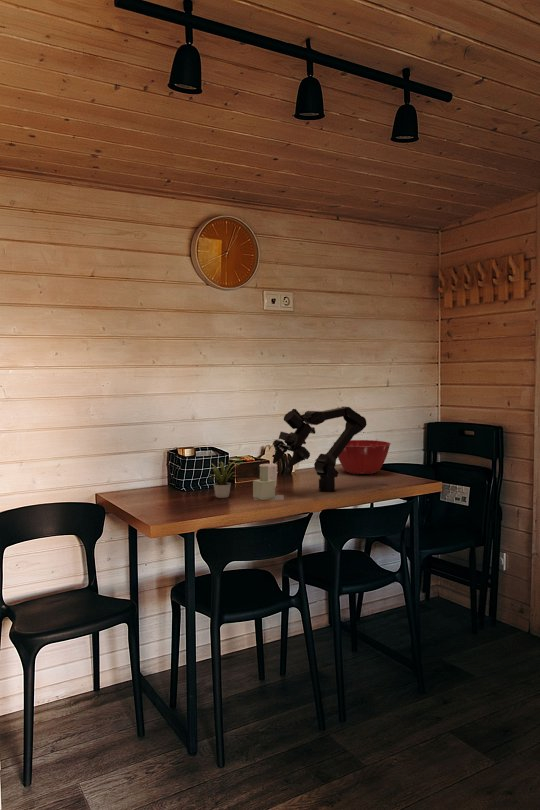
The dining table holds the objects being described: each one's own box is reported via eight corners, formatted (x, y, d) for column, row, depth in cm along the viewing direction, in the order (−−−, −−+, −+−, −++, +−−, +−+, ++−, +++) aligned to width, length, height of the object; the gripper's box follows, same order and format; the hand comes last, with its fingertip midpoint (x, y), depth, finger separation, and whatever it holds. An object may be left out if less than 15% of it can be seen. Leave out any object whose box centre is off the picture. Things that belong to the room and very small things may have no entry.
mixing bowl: (328, 468, 334) (328, 439, 333) (381, 467, 337) (381, 438, 336) (340, 478, 306) (340, 446, 305) (397, 477, 309) (397, 445, 308)
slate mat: (283, 497, 264) (283, 495, 264) (283, 502, 255) (283, 499, 255) (254, 497, 264) (254, 495, 264) (253, 502, 255) (253, 499, 255)
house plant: (246, 495, 268) (246, 457, 267) (238, 502, 254) (237, 462, 253) (213, 494, 271) (213, 456, 270) (204, 501, 257) (203, 461, 256)
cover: (266, 495, 264) (265, 464, 263) (274, 497, 258) (274, 466, 257) (253, 497, 260) (252, 465, 259) (262, 499, 255) (261, 467, 254)
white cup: (275, 489, 281) (275, 466, 281) (258, 488, 283) (257, 466, 282) (278, 485, 289) (278, 463, 288) (261, 485, 291) (261, 463, 290)
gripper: (275, 421, 272) (255, 450, 267) (304, 427, 257) (284, 458, 252) (289, 436, 278) (270, 465, 273) (319, 443, 263) (299, 474, 258)
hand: (280, 465), depth 264 cm, fingers open, 9 cm apart
